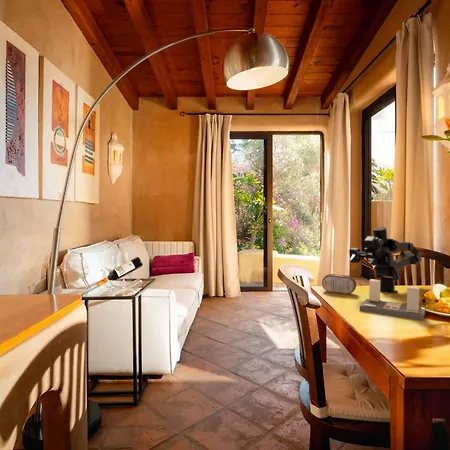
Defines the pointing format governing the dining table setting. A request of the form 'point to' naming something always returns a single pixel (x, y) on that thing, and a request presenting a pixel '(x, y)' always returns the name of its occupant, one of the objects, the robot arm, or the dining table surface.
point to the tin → (339, 283)
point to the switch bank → (392, 309)
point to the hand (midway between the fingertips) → (359, 262)
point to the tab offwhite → (374, 290)
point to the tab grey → (413, 298)
